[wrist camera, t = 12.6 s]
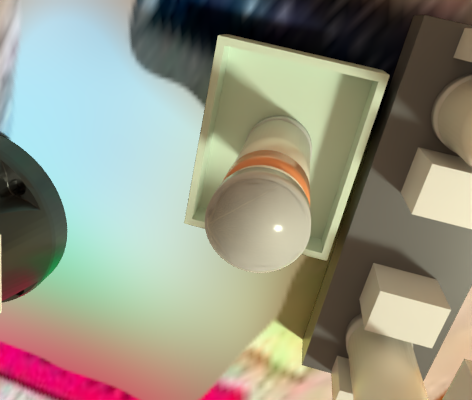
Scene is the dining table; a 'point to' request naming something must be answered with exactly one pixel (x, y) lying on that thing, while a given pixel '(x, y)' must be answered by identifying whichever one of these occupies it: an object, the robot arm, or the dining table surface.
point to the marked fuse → (264, 199)
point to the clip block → (402, 219)
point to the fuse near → (455, 117)
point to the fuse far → (382, 366)
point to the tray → (293, 105)
